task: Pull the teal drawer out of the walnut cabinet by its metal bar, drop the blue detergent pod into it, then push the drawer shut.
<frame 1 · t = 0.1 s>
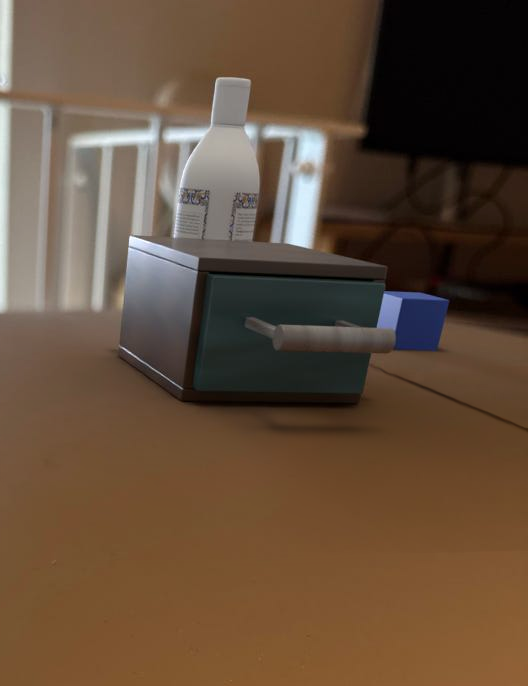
cabinet: (230, 378, 69), on the table
bath foam: (200, 329, 89), on the table
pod: (400, 348, 86), on the table
teal drawer: (266, 327, 63), point 4 cm above the table, slide at 0.0 cm
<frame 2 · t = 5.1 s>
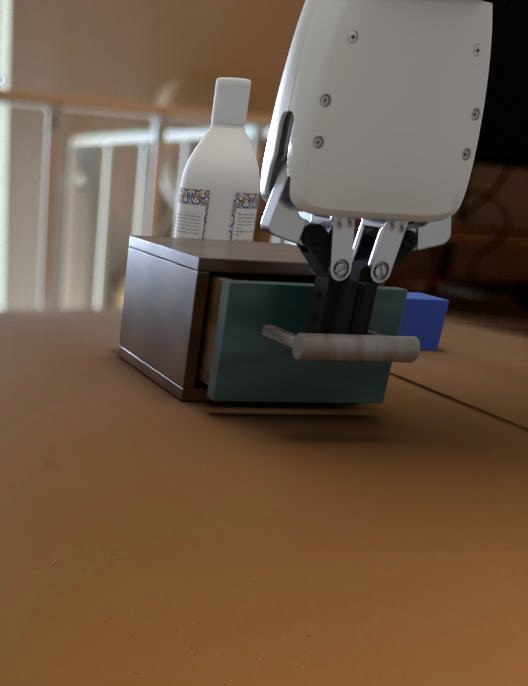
hand: (332, 352, 55), 4 cm above the table, tool pointing down, fingers closed
teal drawer: (283, 334, 61), point 4 cm above the table, slide at 2.6 cm, touching gripper
everything else where it was.
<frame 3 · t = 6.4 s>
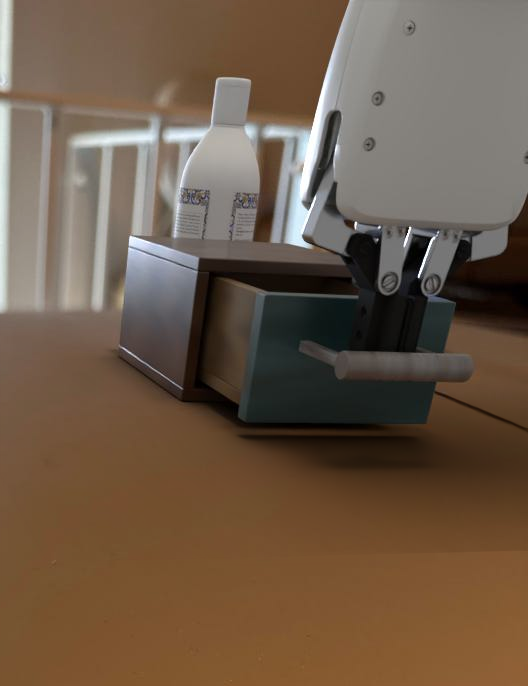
hand: (376, 371, 51), 4 cm above the table, tool pointing down, fingers closed
teal drawer: (319, 349, 56), point 4 cm above the table, slide at 7.5 cm
everything else where it was.
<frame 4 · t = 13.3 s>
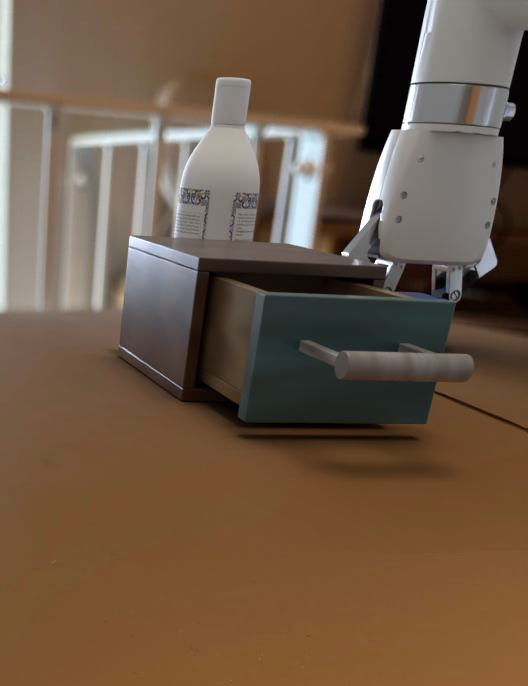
hand: (401, 343, 86), 0 cm above the table, tool pointing down, fingers closed on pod, 4 cm apart
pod: (400, 348, 86), on the table, touching gripper
everything else where it was.
when the fingers open (7 cm above the table, at t = 20.1 s): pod drops 5 cm, resting on teal drawer.
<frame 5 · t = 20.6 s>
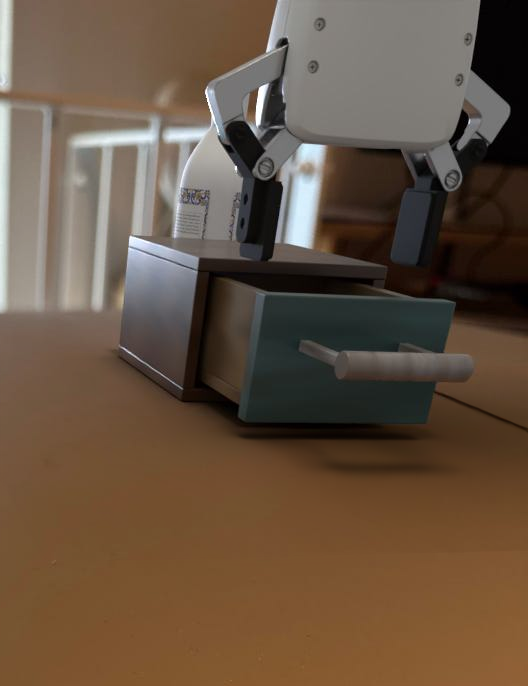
hand: (333, 262, 55), 9 cm above the table, tool pointing down, fingers open, 9 cm apart
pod: (307, 386, 58), point 2 cm above the table, touching teal drawer
teal drawer: (319, 349, 56), point 4 cm above the table, slide at 7.5 cm, touching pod
everything else where it was.
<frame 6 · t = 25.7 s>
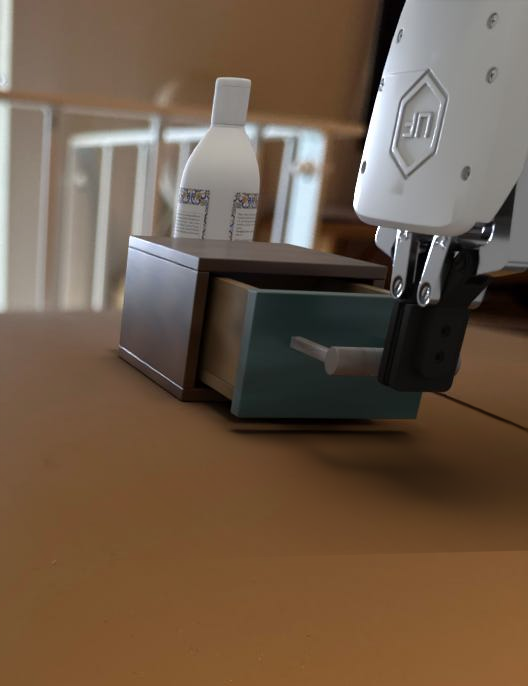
hand: (412, 387, 48), 4 cm above the table, tool pointing down, fingers closed
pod: (299, 382, 59), point 2 cm above the table, touching teal drawer
teal drawer: (310, 346, 57), point 4 cm above the table, slide at 6.4 cm, touching gripper, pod
everything else where it was.
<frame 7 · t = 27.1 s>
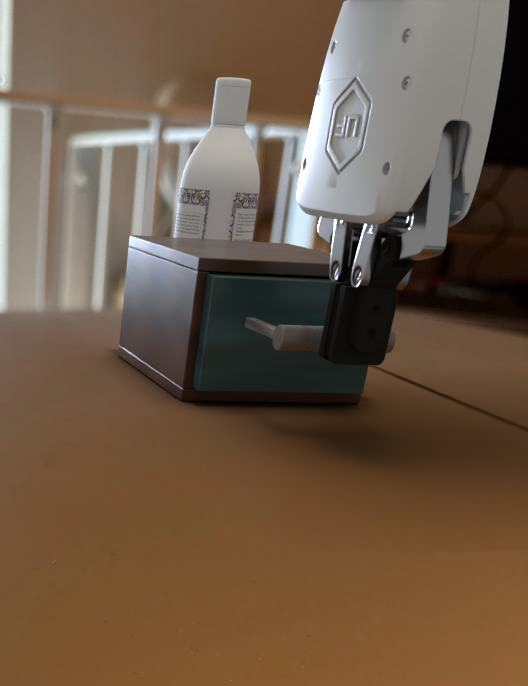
hand: (350, 361, 53), 4 cm above the table, tool pointing down, fingers closed
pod: (257, 361, 65), point 2 cm above the table, touching teal drawer
teal drawer: (266, 327, 63), point 4 cm above the table, slide at 0.0 cm, touching cabinet, gripper, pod
everything else where it was.
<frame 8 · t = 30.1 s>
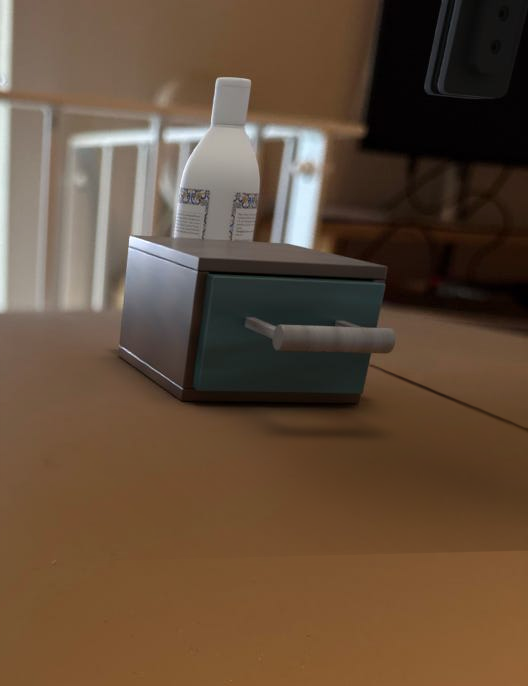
hand: (464, 95, 43), 17 cm above the table, tool pointing down, fingers closed
teal drawer: (266, 327, 63), point 4 cm above the table, slide at 0.0 cm, touching cabinet, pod
everything else where it was.
at the end: teal drawer pulled out 7.5 cm at the most during the clip, back to where it started at the end; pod inside the target area in the cabinet (4.0 cm from its centre), point 2.0 cm above the cabinet's base; teal drawer slide at 0.0 cm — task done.
